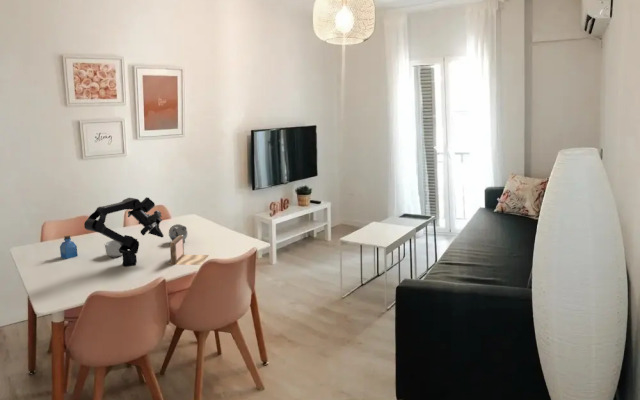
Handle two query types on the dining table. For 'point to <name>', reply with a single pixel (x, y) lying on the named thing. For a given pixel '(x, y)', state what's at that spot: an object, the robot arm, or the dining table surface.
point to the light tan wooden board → (192, 260)
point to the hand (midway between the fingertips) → (163, 236)
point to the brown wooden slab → (177, 249)
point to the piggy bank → (178, 232)
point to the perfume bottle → (68, 248)
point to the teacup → (113, 248)
